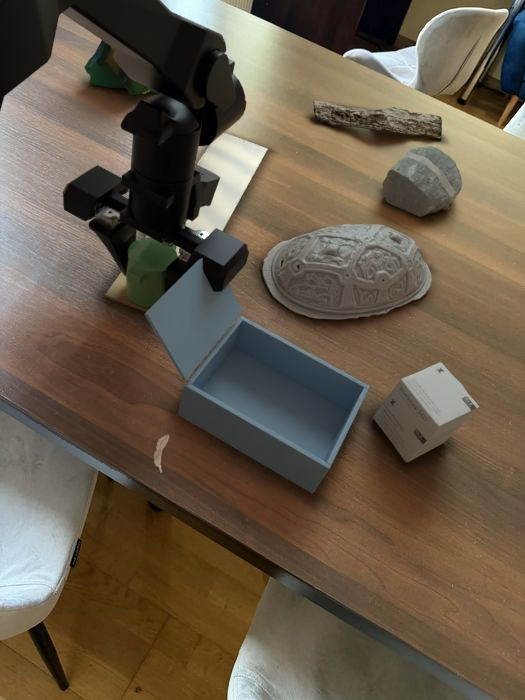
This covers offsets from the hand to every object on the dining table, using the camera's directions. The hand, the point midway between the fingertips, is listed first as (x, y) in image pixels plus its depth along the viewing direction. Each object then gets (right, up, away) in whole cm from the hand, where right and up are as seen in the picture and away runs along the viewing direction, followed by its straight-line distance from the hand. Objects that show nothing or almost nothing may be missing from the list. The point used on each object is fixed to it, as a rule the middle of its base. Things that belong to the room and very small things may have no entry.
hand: (149, 285), depth 64 cm
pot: (0, 0, +1) cm, 1 cm away
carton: (+13, -14, -5) cm, 20 cm away
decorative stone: (+37, +17, +28) cm, 49 cm away
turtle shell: (+24, +3, +12) cm, 27 cm away
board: (+4, +11, +13) cm, 17 cm away
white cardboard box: (+28, -16, -2) cm, 32 cm away
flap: (+7, -4, -10) cm, 13 cm away
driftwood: (+33, +34, +40) cm, 62 cm away
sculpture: (-8, +36, +29) cm, 47 cm away
